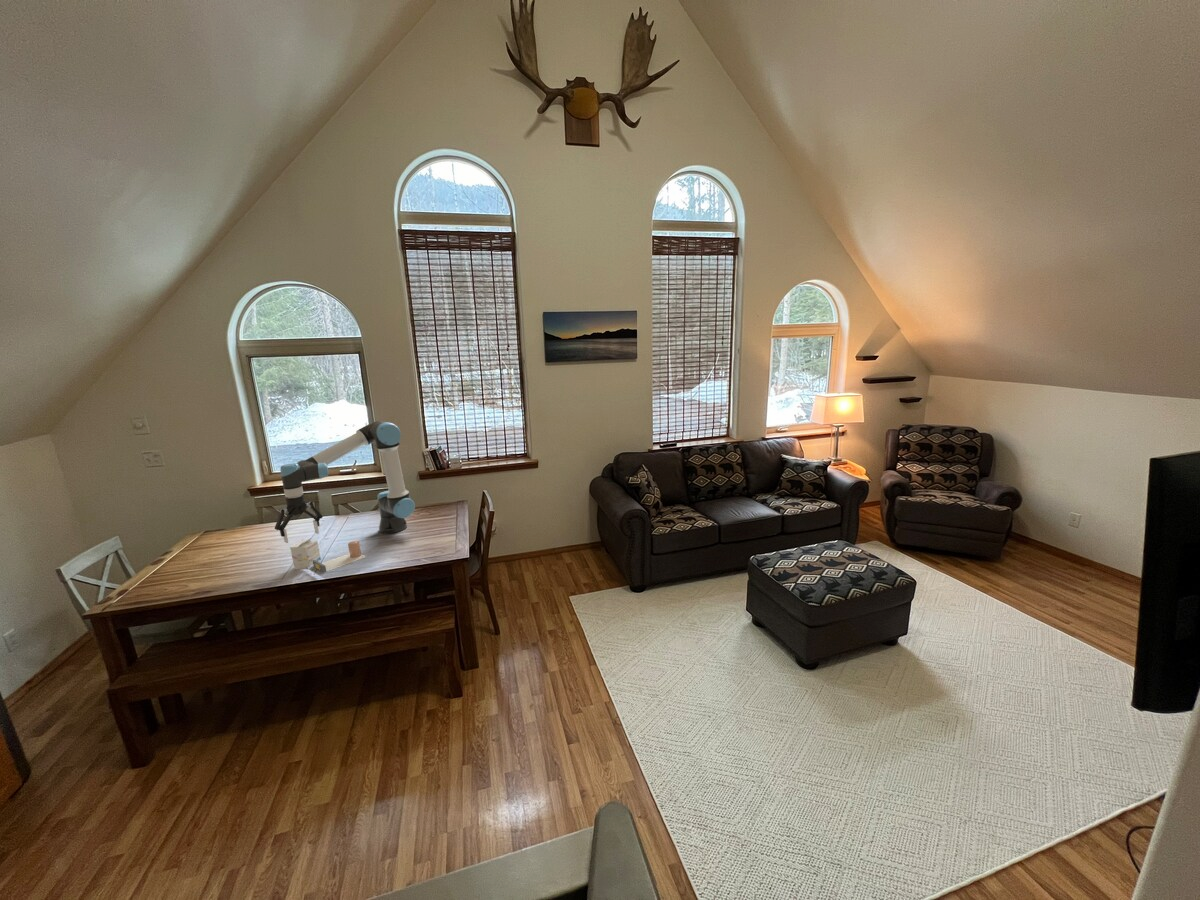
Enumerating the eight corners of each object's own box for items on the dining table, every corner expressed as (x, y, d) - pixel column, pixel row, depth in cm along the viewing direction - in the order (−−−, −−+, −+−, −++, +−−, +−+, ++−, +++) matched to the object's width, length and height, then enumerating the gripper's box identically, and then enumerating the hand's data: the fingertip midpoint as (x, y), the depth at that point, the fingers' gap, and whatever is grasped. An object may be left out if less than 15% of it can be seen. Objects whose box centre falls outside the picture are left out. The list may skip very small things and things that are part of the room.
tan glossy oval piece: (358, 552, 243) (356, 540, 241) (363, 555, 240) (360, 542, 238) (348, 556, 239) (346, 543, 238) (353, 558, 236) (350, 545, 235)
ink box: (306, 561, 239) (301, 536, 236) (321, 561, 238) (317, 536, 235) (294, 569, 231) (288, 543, 228) (309, 569, 230) (304, 543, 227)
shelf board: (355, 554, 245) (354, 545, 244) (366, 559, 238) (365, 551, 237) (313, 569, 230) (311, 560, 229) (323, 575, 222) (322, 566, 222)
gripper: (319, 488, 239) (325, 528, 243) (261, 501, 219) (269, 544, 224) (325, 490, 234) (332, 531, 238) (267, 504, 215) (275, 548, 219)
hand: (302, 537), depth 231 cm, fingers open, 13 cm apart
